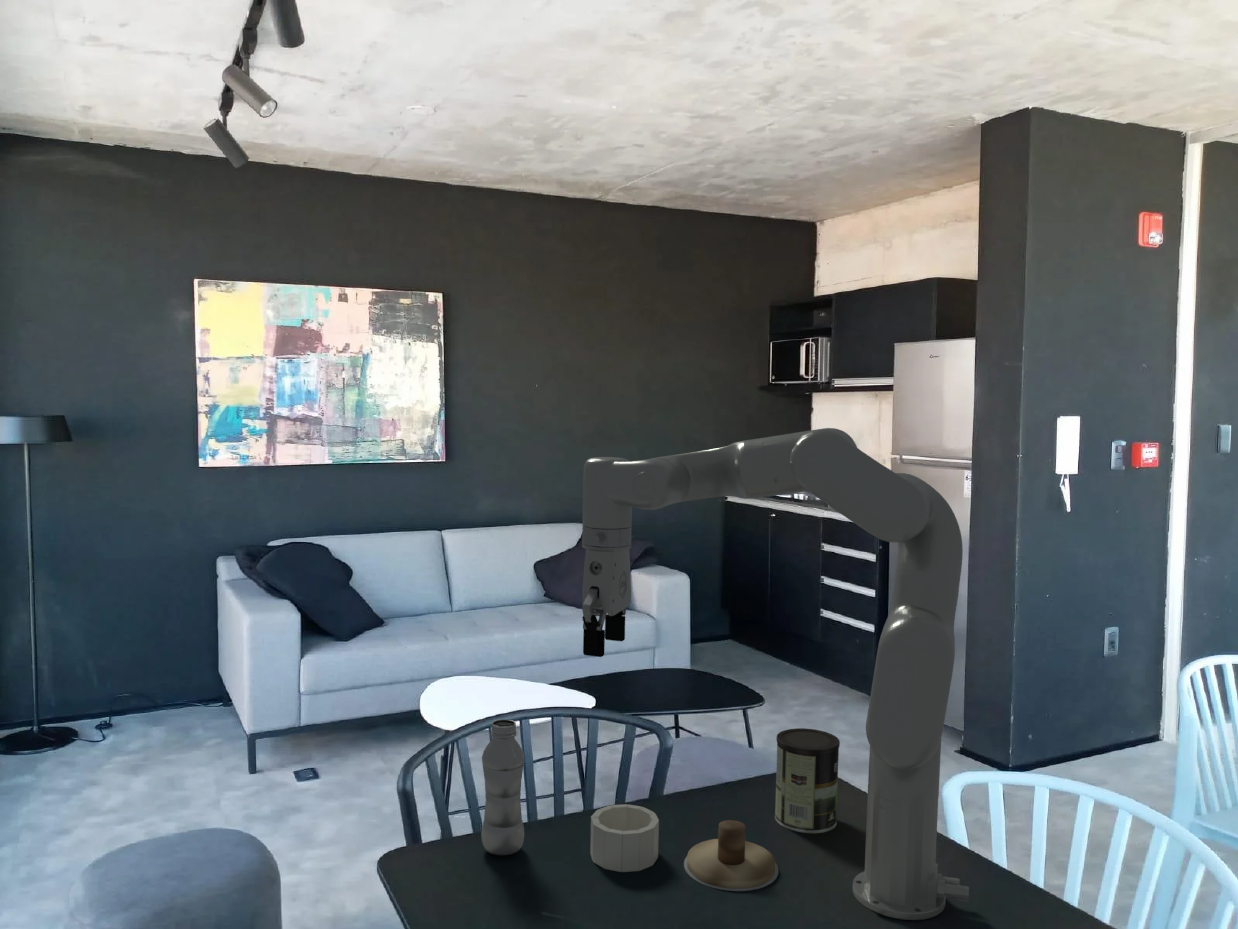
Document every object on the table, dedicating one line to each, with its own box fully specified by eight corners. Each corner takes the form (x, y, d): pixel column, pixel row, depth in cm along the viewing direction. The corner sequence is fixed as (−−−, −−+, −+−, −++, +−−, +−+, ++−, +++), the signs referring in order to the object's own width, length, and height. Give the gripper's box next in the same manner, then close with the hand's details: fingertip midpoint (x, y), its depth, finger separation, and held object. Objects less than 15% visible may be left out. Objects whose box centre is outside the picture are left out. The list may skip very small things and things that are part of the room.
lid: (781, 854, 147) (783, 815, 146) (766, 896, 134) (767, 853, 134) (699, 840, 151) (700, 802, 150) (677, 879, 139) (678, 837, 138)
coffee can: (829, 808, 164) (832, 728, 163) (842, 836, 154) (846, 750, 153) (769, 807, 165) (772, 726, 164) (778, 834, 154) (781, 749, 153)
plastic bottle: (503, 865, 142) (505, 734, 141) (471, 852, 146) (473, 724, 145) (533, 849, 147) (534, 722, 146) (501, 837, 151) (502, 713, 150)
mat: (785, 855, 147) (785, 854, 147) (769, 900, 134) (769, 898, 134) (697, 840, 152) (697, 838, 152) (672, 882, 138) (672, 880, 138)
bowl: (664, 848, 149) (665, 810, 148) (645, 878, 139) (646, 838, 139) (604, 837, 152) (605, 800, 151) (581, 866, 142) (582, 827, 142)
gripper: (611, 547, 137) (609, 665, 138) (646, 532, 154) (644, 637, 155) (562, 544, 140) (560, 659, 141) (602, 529, 156) (600, 632, 157)
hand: (604, 647), depth 148 cm, fingers open, 9 cm apart
